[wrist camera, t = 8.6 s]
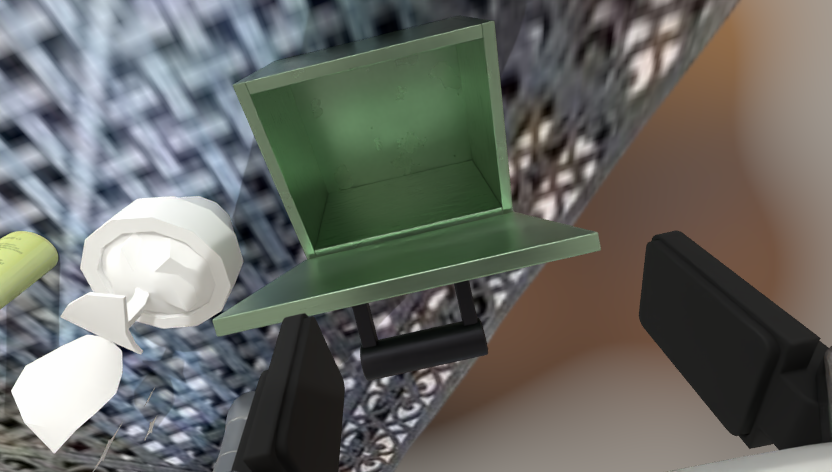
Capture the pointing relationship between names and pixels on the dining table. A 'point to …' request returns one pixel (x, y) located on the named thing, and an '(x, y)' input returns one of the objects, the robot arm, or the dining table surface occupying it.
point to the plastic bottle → (233, 431)
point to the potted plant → (130, 304)
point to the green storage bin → (384, 134)
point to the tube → (23, 262)
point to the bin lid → (411, 285)
